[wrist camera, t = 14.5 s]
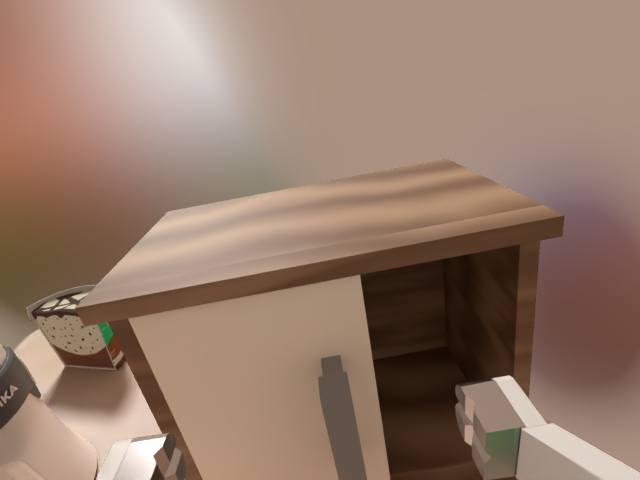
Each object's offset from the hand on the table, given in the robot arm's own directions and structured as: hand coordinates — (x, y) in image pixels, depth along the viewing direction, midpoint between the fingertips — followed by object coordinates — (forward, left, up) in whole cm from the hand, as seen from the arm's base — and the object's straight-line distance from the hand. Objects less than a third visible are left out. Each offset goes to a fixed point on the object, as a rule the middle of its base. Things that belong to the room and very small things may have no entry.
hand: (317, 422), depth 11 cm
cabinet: (+16, +9, -22) cm, 28 cm away
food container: (+16, +47, -22) cm, 54 cm away
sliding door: (+6, +7, -20) cm, 22 cm away
